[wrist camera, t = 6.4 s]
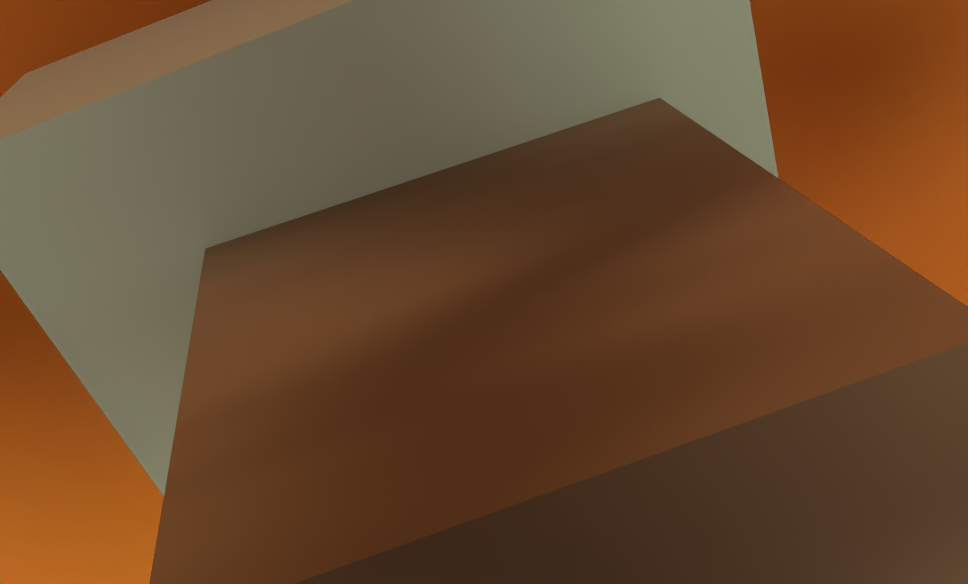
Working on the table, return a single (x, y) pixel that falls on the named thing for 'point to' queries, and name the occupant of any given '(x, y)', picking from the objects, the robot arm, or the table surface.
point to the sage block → (304, 144)
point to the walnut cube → (571, 383)
